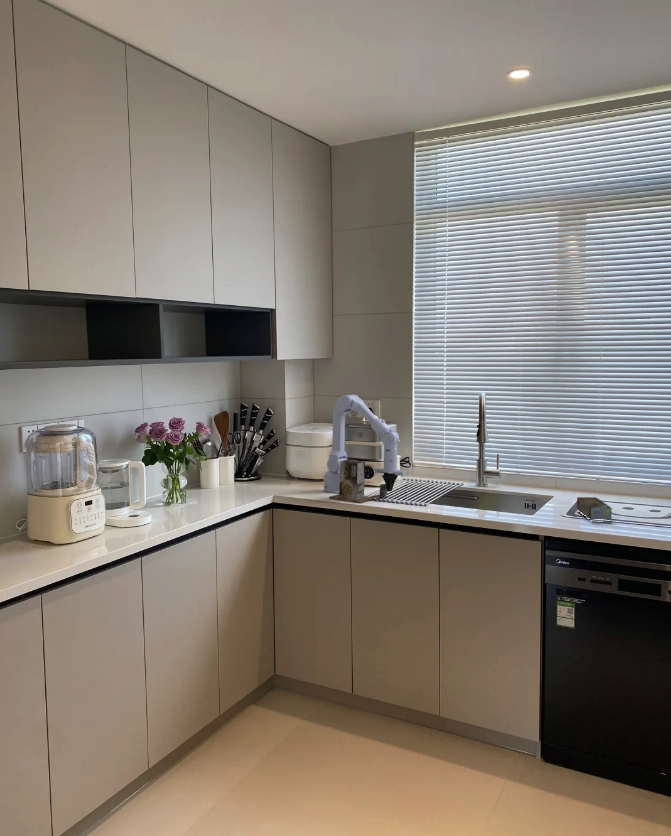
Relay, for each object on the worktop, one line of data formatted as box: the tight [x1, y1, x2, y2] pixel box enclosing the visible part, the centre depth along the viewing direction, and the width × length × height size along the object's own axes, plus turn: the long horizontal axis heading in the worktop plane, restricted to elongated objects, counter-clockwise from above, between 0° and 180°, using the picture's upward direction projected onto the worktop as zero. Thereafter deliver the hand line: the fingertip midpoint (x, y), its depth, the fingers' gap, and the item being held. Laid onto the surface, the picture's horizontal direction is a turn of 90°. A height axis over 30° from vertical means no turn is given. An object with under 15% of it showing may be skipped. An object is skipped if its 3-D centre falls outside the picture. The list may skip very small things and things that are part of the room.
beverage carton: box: [576, 496, 612, 521], centre depth 267 cm, size 8×19×7 cm, turn 176°
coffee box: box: [338, 459, 366, 499], centre depth 297 cm, size 9×6×16 cm
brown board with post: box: [328, 483, 389, 504], centre depth 301 cm, size 16×21×5 cm
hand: (389, 491), depth 301 cm, fingers closed
